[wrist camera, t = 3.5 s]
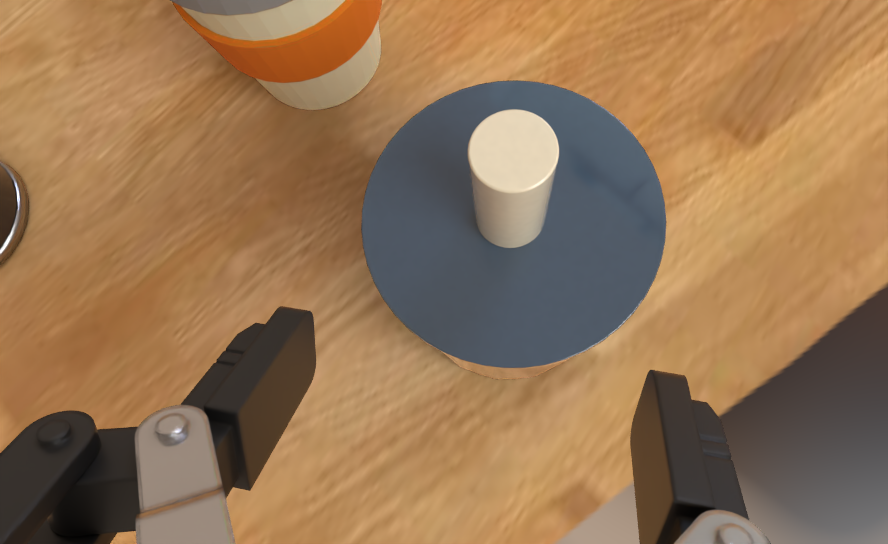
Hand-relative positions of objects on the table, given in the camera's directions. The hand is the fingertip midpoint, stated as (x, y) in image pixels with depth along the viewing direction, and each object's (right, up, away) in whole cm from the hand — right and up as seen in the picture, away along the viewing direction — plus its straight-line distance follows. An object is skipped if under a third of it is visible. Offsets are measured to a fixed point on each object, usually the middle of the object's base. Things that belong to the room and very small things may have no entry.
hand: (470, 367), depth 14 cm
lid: (+2, +4, +10) cm, 12 cm away
